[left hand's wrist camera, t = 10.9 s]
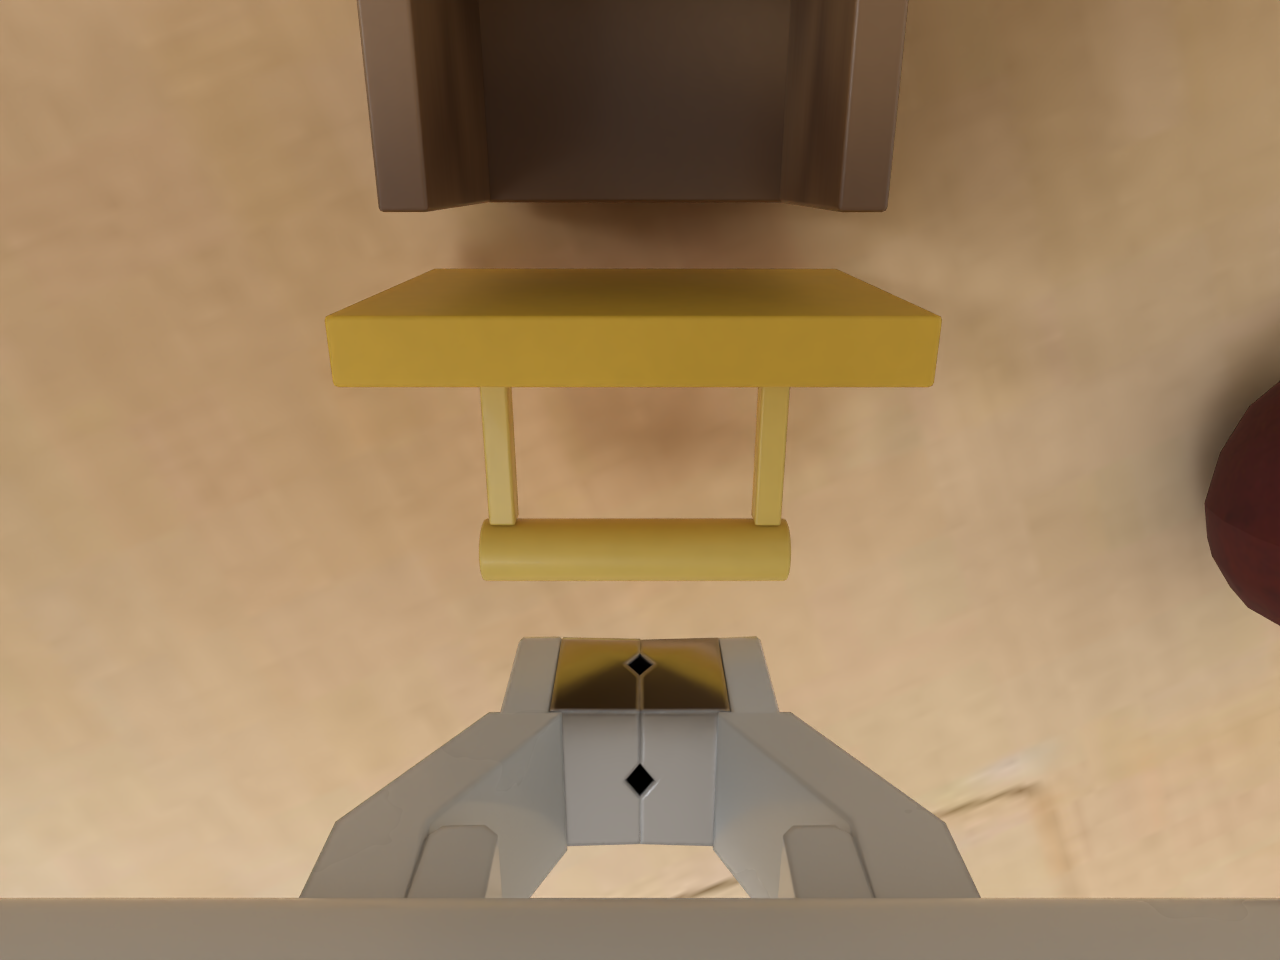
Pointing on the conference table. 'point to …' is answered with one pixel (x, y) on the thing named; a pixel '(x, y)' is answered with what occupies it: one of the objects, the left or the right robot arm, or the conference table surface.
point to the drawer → (633, 172)
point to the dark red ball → (1249, 507)
